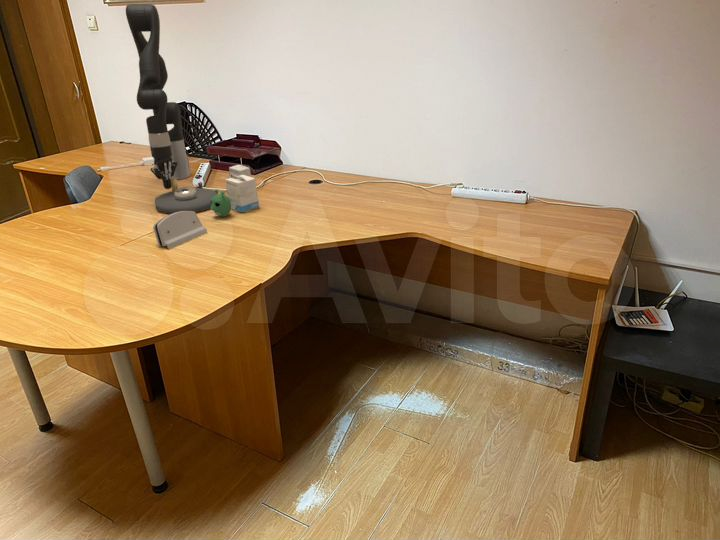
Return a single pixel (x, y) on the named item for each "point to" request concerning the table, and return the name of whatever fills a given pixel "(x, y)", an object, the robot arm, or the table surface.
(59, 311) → the table surface
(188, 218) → the grey curved-top upright plate
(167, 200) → the turntable
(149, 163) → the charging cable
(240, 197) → the ink box
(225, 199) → the alien toy
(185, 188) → the cover
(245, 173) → the ink box
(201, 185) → the index post
